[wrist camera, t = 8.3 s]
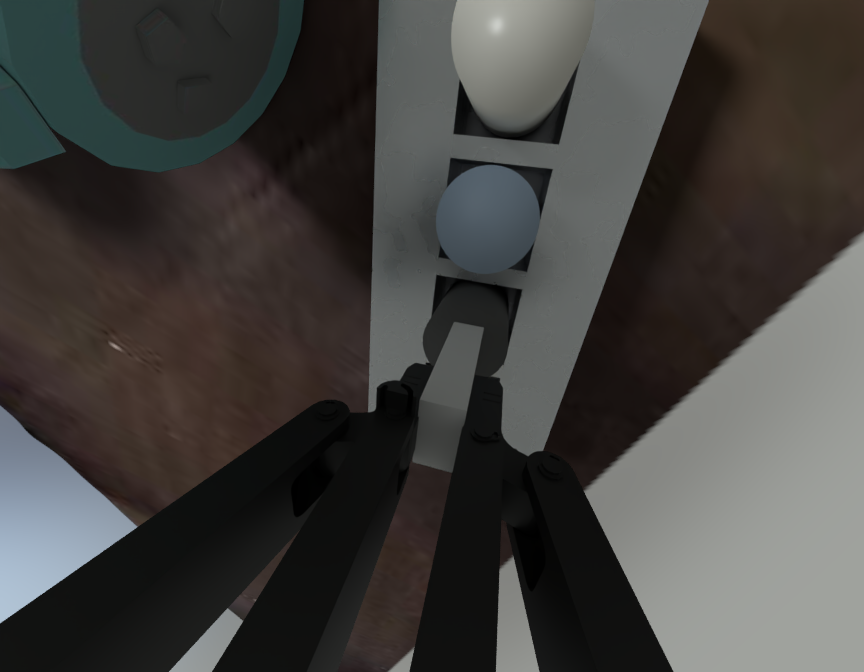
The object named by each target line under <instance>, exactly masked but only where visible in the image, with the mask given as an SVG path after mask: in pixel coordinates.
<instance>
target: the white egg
mask: <svg viewBox="0 0 864 672" xmlns="http://www.w3.org/2000/svg"><path fill="white" fill-rule="evenodd" d="M594 9H595V0H457V2H456V6H455V10H454V14H453V21H452V30H451V47H452V55H453V60H454V64H455V68H456V71H457V73H458V76H459V78H460V80H461V83H462V85H463V87H464V89H465V91H466V94H467V96H468V98H469V100H470V102H471V104H472V107H473V109H474V111H475V113H476V115H477V117H478V119H479V121H480V122H481V123H482V125H483V126H484V127H485V128H486V129H487V130H489V131H490V132H492V133H494V134H495V135H498V136H501V137H506V138H513V137H519V136H523V135H526V134H528V133H530V132H532V131H534V130H535V129H536V128H538V127H539V126H540V125H541V124H543V123H544V122H545V121H546V119H547V118H548V117H549V116H550V115H551V113H552V112H553V110H554V108H555V107H556V105H557V103H558V101H559V99H560V97H561V95H562V93H563V91H564V90H565V88H566V86H567V84H568V82H569V80H570V78H571V76H572V74H573V73H574V71H575V69H576V67H577V65H578V63H579V61H580V59H581V57H582V56H583V53H584V51H585V48H586V46H587V43H588V40H589V37H590V34H591V29H592V24H593V19H594Z"/></svg>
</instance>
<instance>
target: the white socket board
mask: <svg viewBox="0 0 864 672" xmlns="http://www.w3.org/2000/svg"><path fill="white" fill-rule="evenodd" d="M708 1H709V0H595V9H594V19H593V24H592V29H591V34H590V37H589V40H588V43H587V46H586V48H585V51H584V53H583V56H582V57H581V59H580V61H579V63H578V65H577V67H576V69H575V71H574V73H573V74H572V76H571V78H570V80H569V82H568V84H567V86H566V88H565V90H564V91H563V93H562V95H561V97H560V99H559V101H558V103H557V105H556V107H555V108H554V110H553V112H552V113H551V115H550V116H549V117H548V118H547V119H546V121H545V122H544V123H543V124H541V125H540V126H539V127H538V128H536V129H535V130H534V131H532V132H530V133H528V134H526V135H523V136H519V137H513V138H506V137H501V136H498V135H495V134H494V133H492V132H490V131H489V130H487V129H486V128H485V127H484V126H483V125H482V123H481V122H480V121H479V119H478V117H477V115H476V113H475V111H474V109H473V107H472V104H471V102H470V100H469V98H468V96H467V94H466V91H465V89H464V87H463V85H462V83H461V80H460V78H459V76H458V73H457V71H456V68H455V64H454V60H453V55H452V47H451V30H452V21H453V14H454V10H455V6H456V2H457V0H379V21H378V59H377V98H376V137H375V175H374V214H373V253H372V291H371V330H370V369H369V407H368V412H372V411H374V410H375V409H376V393H377V387H378V386H379V385H380V384H381V383H384V382H386V381H392V380H399V381H400V379H401V377H402V376H403V374H404V372H405V371H406V369H407V367H409V366H411V365H412V364H414V363H420V364H425V365H429V366H432V365H431V364H430V362H429V361H428V359H427V357H426V355H425V353H424V349H423V333H424V330H425V327H426V325H427V323H428V322H429V320H430V319H431V317H432V315H433V314H434V312H435V311H436V309H437V308H438V306H439V304H440V303H441V301H442V300H443V298H444V296H445V295H446V293H447V292H448V290H449V289H450V287H451V286H452V285H453V284H454V283H455V282H457V281H458V280H460V279H465V280H470V281H476V282H482V283H488V284H494V285H500V286H501V287H502V288H503V290H504V291H505V293H506V295H507V298H508V303H509V320H508V352H507V356H506V359H505V361H504V363H503V365H502V366H501V368H500V369H499V370H498V371H497V372H496V373H494V374H493V375H492V376H491V378H493V379H497V380H499V382H500V383H501V385H502V387H503V403H502V427H501V430H502V434H503V437H504V439H505V440H506V441H507V443H508V444H509V445H510V446H512V447H513V448H514V449H516V450H518V451H519V452H521V453H523V454H525V455H527V456H529V455H530V454H532V453H534V452H536V451H543V449H544V446H545V444H546V441H547V438H548V436H549V433H550V430H551V427H552V425H553V422H554V419H555V417H556V414H557V411H558V408H559V406H560V403H561V400H562V398H563V395H564V392H565V389H566V387H567V384H568V381H569V379H570V376H571V373H572V370H573V368H574V365H575V362H576V360H577V357H578V354H579V351H580V349H581V346H582V343H583V341H584V338H585V335H586V332H587V330H588V327H589V324H590V322H591V319H592V316H593V313H594V311H595V308H596V305H597V303H598V300H599V297H600V294H601V292H602V289H603V286H604V284H605V281H606V278H607V275H608V273H609V270H610V267H611V265H612V262H613V259H614V256H615V254H616V251H617V248H618V246H619V243H620V240H621V237H622V235H623V232H624V229H625V227H626V224H627V221H628V218H629V216H630V213H631V210H632V208H633V205H634V202H635V199H636V197H637V194H638V191H639V189H640V186H641V183H642V180H643V178H644V175H645V172H646V170H647V167H648V164H649V161H650V159H651V156H652V153H653V151H654V148H655V145H656V142H657V140H658V137H659V134H660V132H661V129H662V126H663V123H664V121H665V118H666V115H667V113H668V110H669V107H670V104H671V102H672V99H673V96H674V94H675V91H676V88H677V85H678V83H679V80H680V77H681V75H682V72H683V69H684V66H685V64H686V61H687V58H688V56H689V53H690V50H691V47H692V45H693V42H694V39H695V37H696V34H697V31H698V28H699V26H700V23H701V20H702V18H703V15H704V12H705V9H706V7H707V4H708ZM484 165H498V166H503V167H506V168H509V169H511V170H513V171H515V172H517V173H518V174H519V175H521V176H522V177H523V178H524V179H525V180H526V181H527V182H528V183H529V185H530V186H531V187H532V189H533V191H534V193H535V195H536V198H537V201H538V205H539V211H540V223H539V229H538V233H537V236H536V238H535V241H534V243H533V245H532V246H531V248H530V250H529V251H528V252H527V254H526V255H525V256H524V257H523V258H522V259H521V260H520V261H519V262H517V263H516V264H515V265H513V266H511V267H510V268H508V269H506V270H503V271H500V272H497V273H491V274H479V273H474V272H470V271H467V270H465V269H463V268H461V267H459V266H458V265H456V264H455V263H454V262H453V261H452V260H451V259H450V258H449V257H448V256H447V255H446V253H445V252H444V250H443V249H442V247H441V244H440V242H439V239H438V236H437V231H436V214H437V209H438V205H439V202H440V200H441V198H442V195H443V194H444V192H445V190H446V189H447V188H448V186H449V185H450V184H451V183H452V182H453V181H454V180H455V179H456V178H457V177H458V176H460V175H461V174H462V173H464V172H466V171H468V170H470V169H472V168H475V167H479V166H484Z"/></svg>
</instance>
